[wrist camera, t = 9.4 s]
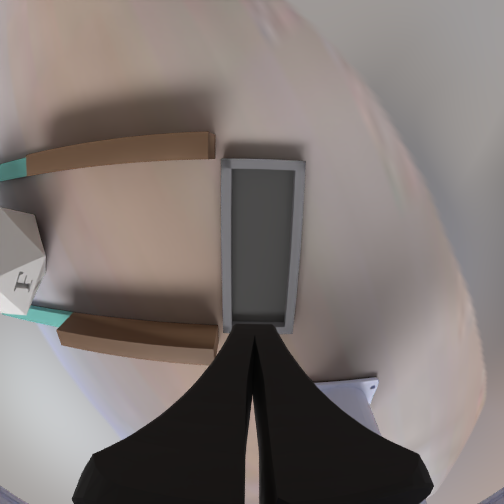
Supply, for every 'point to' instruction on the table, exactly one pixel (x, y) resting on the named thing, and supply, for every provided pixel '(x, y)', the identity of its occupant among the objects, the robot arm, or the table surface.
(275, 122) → the table surface
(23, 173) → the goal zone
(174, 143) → the channel
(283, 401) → the robot arm
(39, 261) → the die
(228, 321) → the grey flat rectangular tray
